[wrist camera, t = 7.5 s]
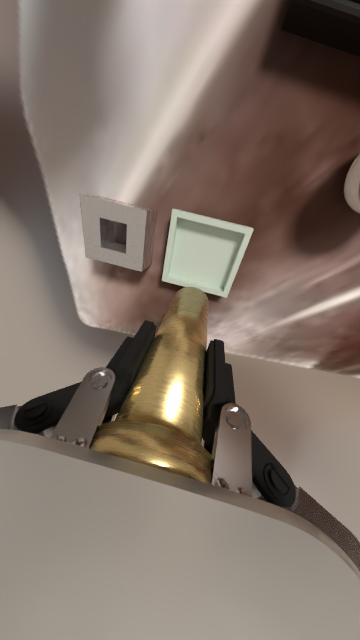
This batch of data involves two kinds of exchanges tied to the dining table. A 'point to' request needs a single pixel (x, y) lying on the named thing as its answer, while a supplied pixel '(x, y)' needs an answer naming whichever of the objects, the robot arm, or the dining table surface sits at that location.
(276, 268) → the dining table surface
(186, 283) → the tray
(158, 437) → the pin
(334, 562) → the robot arm
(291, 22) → the food platter
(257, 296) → the dining table surface
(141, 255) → the white square-hole block
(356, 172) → the lidded jar
